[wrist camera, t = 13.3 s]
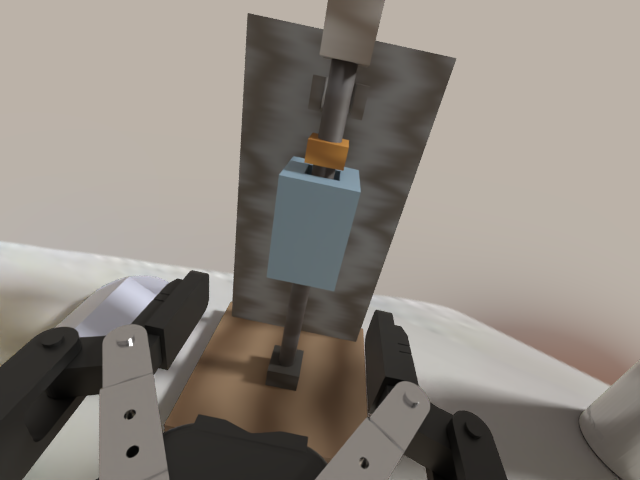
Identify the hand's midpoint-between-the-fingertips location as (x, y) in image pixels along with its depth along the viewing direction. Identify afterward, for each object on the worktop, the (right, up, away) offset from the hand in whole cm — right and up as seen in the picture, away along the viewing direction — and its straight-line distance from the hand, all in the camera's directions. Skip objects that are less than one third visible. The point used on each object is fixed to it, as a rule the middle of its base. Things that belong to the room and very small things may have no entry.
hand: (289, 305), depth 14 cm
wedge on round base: (-21, -8, +21) cm, 31 cm away
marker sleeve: (0, +1, +10) cm, 10 cm away
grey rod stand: (-3, -12, +19) cm, 23 cm away
